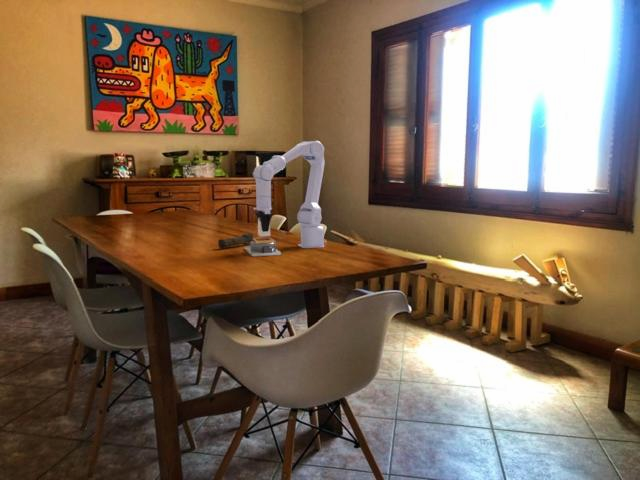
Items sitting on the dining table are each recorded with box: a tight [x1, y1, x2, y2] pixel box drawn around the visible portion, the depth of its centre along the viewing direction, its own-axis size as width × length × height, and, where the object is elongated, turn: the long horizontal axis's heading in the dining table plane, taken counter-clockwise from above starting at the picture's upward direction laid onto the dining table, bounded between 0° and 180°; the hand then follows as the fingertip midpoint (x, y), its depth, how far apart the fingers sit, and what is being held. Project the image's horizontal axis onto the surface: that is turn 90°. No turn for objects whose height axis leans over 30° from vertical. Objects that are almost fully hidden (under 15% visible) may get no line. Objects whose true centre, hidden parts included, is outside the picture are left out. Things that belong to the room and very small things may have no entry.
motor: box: [244, 237, 282, 257], centre depth 204 cm, size 11×18×5 cm, turn 18°
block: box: [257, 218, 271, 237], centre depth 203 cm, size 4×4×7 cm
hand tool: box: [217, 232, 255, 249], centre depth 216 cm, size 19×4×5 cm, turn 141°
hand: (264, 230), depth 203 cm, fingers closed on block, 4 cm apart
